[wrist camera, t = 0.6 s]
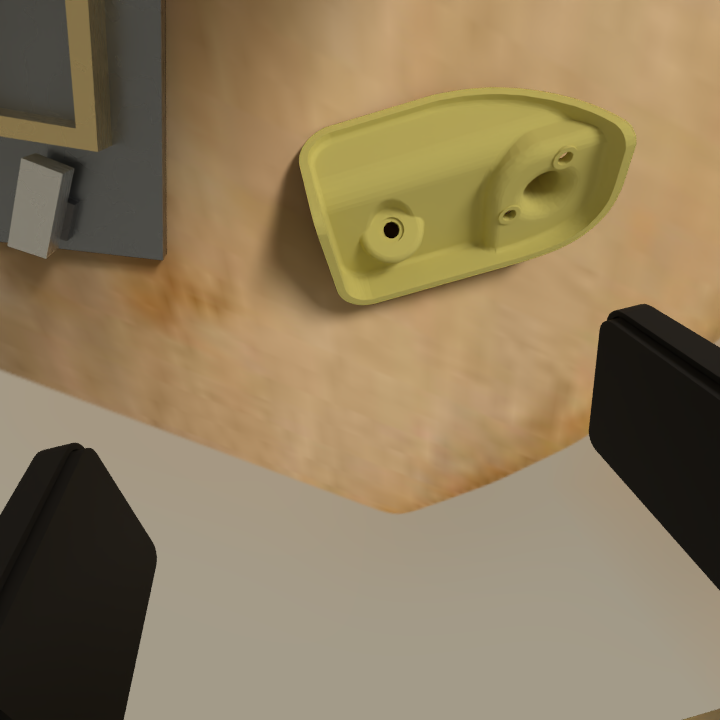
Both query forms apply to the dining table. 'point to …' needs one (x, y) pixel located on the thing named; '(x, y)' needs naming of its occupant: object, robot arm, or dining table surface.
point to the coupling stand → (83, 126)
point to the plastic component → (459, 186)
